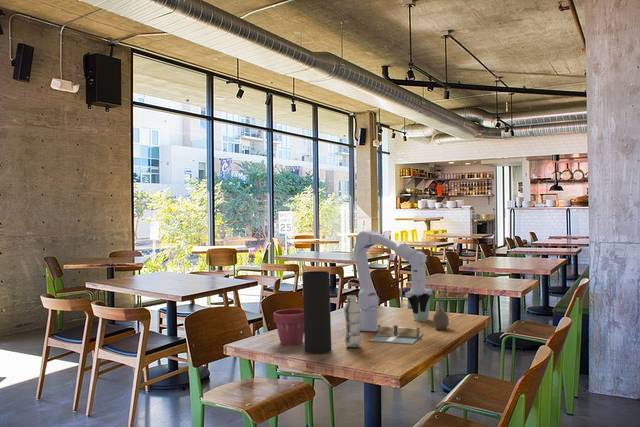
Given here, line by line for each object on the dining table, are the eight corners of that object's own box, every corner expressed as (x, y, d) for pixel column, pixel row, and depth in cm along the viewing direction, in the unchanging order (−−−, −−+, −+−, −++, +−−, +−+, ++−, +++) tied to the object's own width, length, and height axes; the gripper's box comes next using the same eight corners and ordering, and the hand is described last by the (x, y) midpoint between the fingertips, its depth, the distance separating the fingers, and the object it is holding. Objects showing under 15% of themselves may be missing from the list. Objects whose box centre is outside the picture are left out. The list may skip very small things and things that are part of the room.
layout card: (369, 341, 218) (369, 340, 218) (382, 331, 235) (382, 330, 235) (412, 344, 211) (412, 343, 211) (423, 334, 228) (423, 332, 228)
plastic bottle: (350, 350, 205) (348, 297, 205) (341, 346, 211) (340, 295, 211) (364, 347, 208) (363, 296, 208) (355, 344, 214) (354, 294, 214)
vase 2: (449, 330, 233) (448, 310, 233) (433, 330, 235) (432, 310, 235) (448, 327, 240) (448, 307, 240) (433, 327, 242) (432, 307, 242)
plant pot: (269, 341, 224) (268, 310, 224) (301, 337, 230) (300, 307, 230) (280, 348, 211) (279, 315, 211) (313, 344, 217) (312, 312, 217)
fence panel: (398, 335, 224) (397, 326, 224) (399, 334, 225) (398, 325, 225) (419, 336, 221) (419, 327, 221) (420, 336, 222) (419, 327, 222)
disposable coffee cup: (435, 318, 260) (434, 287, 260) (427, 322, 251) (426, 290, 251) (414, 317, 266) (413, 286, 266) (406, 321, 257) (405, 289, 257)
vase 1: (310, 355, 199) (308, 274, 199) (300, 349, 208) (298, 272, 208) (335, 351, 203) (333, 272, 203) (324, 346, 212) (322, 270, 212)
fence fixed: (377, 335, 228) (377, 324, 228) (378, 334, 229) (378, 324, 229) (397, 337, 224) (396, 326, 224) (398, 336, 226) (397, 325, 226)
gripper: (413, 282, 220) (414, 316, 220) (437, 279, 228) (438, 311, 228) (401, 281, 225) (402, 313, 225) (424, 278, 234) (425, 309, 234)
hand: (419, 312), depth 227 cm, fingers open, 4 cm apart
